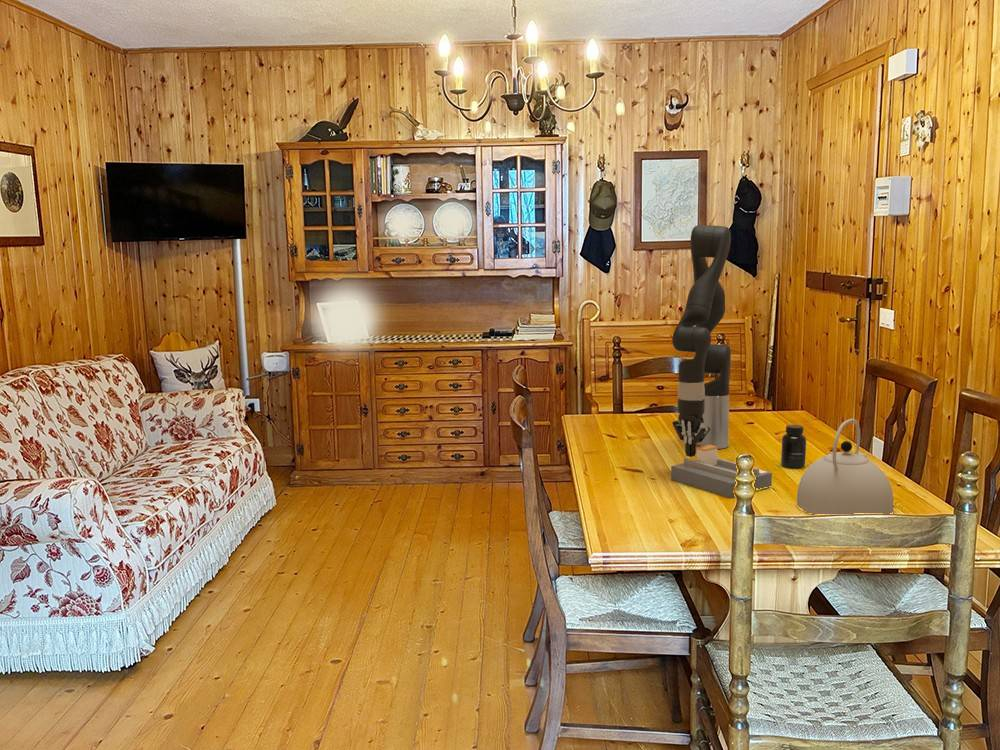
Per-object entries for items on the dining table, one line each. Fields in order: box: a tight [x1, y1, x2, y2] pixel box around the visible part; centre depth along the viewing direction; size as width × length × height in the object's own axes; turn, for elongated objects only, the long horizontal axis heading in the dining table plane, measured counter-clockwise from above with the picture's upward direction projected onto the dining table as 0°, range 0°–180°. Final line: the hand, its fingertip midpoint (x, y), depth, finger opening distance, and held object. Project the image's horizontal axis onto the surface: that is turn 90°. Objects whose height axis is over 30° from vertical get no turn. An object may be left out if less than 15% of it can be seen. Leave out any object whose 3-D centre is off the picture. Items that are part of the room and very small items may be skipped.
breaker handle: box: [696, 445, 718, 465], centre depth 243 cm, size 3×5×5 cm, turn 124°
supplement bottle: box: [780, 424, 807, 469], centre depth 254 cm, size 7×7×12 cm
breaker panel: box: [670, 457, 773, 499], centre depth 239 cm, size 22×16×6 cm
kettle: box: [796, 418, 894, 516], centre depth 216 cm, size 25×23×22 cm
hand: (690, 456), depth 248 cm, fingers closed
